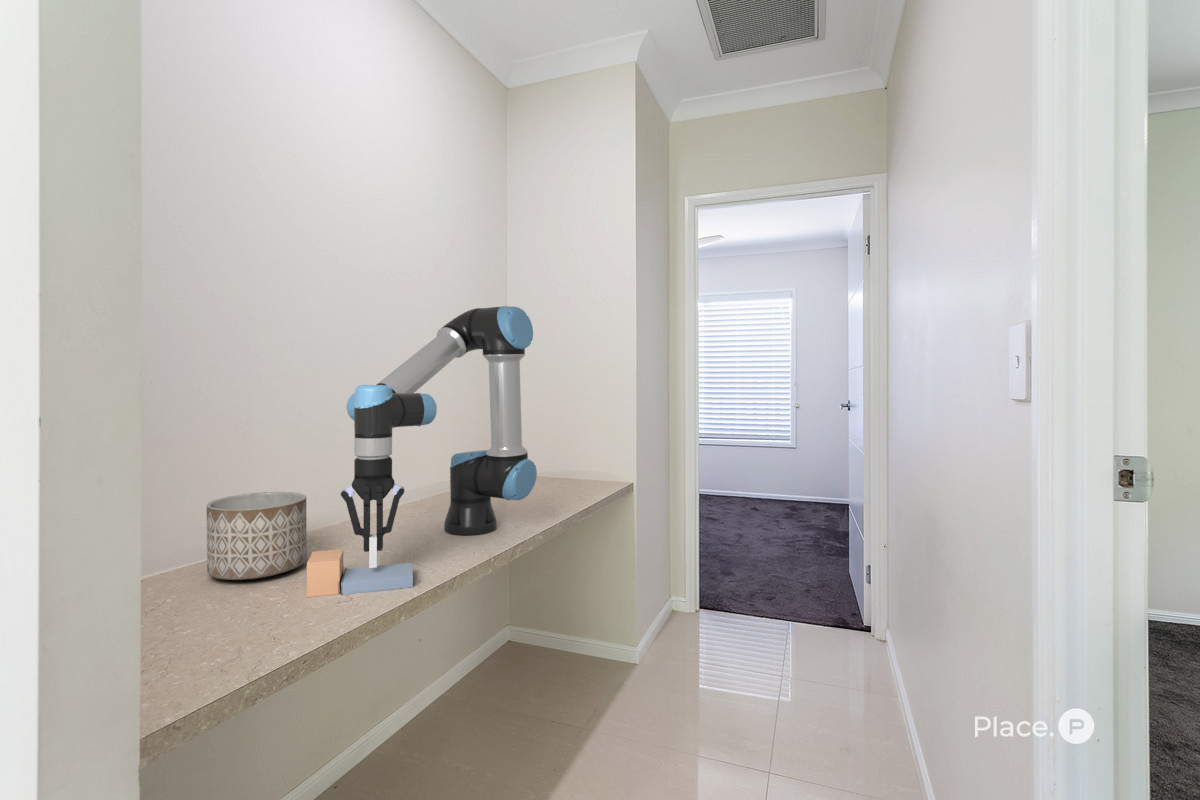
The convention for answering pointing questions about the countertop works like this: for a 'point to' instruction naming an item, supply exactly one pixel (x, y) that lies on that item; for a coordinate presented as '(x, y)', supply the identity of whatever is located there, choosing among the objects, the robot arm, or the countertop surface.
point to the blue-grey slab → (377, 578)
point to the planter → (256, 535)
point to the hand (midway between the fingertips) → (373, 565)
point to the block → (324, 573)
